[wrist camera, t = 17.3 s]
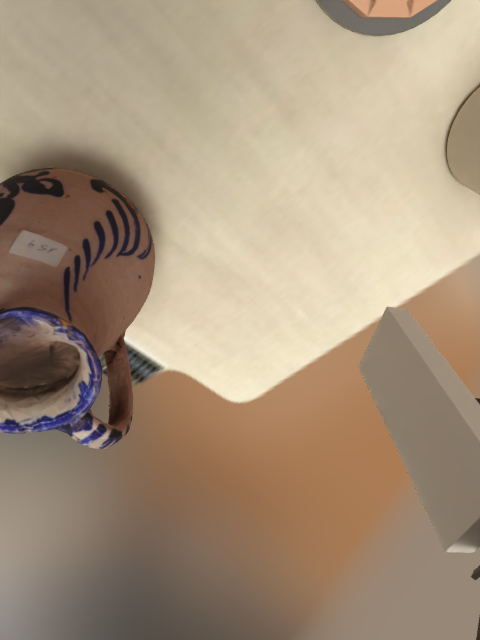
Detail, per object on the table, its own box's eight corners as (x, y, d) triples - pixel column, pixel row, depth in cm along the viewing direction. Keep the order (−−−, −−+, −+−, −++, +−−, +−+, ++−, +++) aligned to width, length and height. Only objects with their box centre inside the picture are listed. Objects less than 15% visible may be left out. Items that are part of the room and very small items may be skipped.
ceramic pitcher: (72, 114, 39) (-71, 188, 19) (210, 258, 50) (213, 406, 29) (-25, 222, 45) (-217, 369, 25) (117, 331, 55) (65, 499, 35)
